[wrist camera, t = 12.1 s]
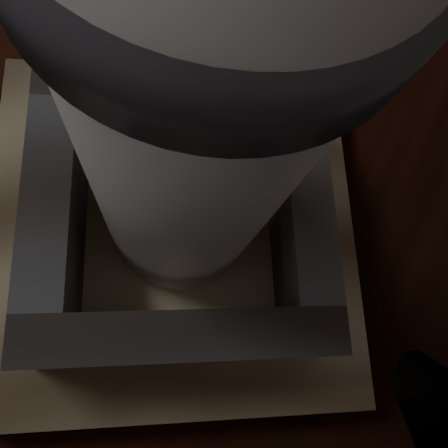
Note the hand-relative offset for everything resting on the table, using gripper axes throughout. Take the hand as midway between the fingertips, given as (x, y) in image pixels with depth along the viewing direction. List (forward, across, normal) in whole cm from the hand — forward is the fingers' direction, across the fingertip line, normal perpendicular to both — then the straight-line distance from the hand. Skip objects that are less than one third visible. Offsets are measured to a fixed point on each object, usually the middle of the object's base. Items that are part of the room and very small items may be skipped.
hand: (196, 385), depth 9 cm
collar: (+10, 0, +2) cm, 10 cm away
